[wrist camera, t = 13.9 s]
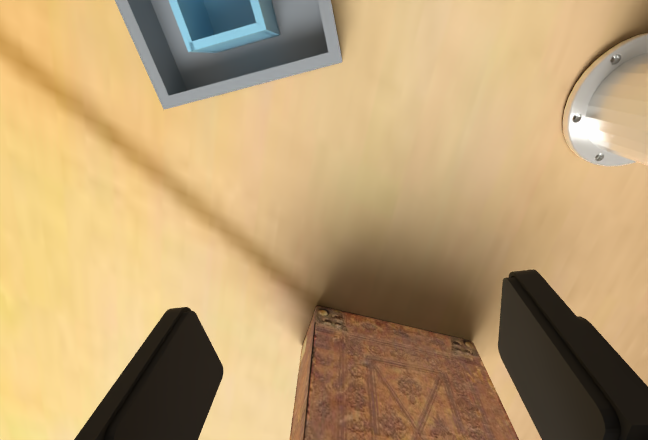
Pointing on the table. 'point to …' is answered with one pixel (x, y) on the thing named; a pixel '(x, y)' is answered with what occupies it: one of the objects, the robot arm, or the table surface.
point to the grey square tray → (234, 64)
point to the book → (392, 384)
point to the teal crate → (224, 23)
